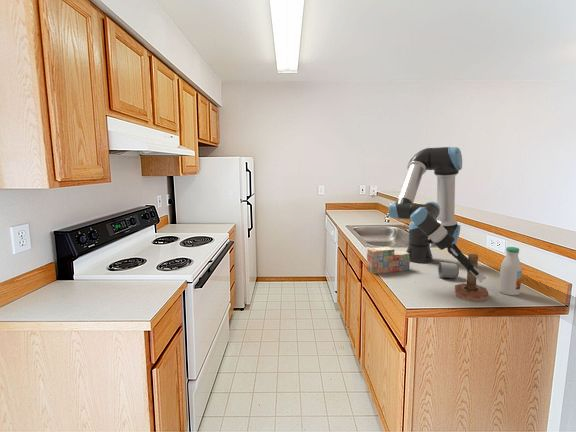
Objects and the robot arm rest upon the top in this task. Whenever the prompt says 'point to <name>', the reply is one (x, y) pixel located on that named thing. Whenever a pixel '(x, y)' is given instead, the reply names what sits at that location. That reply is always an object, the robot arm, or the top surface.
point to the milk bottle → (510, 273)
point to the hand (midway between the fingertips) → (482, 278)
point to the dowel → (470, 277)
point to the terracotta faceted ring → (471, 293)
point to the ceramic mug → (448, 270)
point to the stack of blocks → (387, 260)
